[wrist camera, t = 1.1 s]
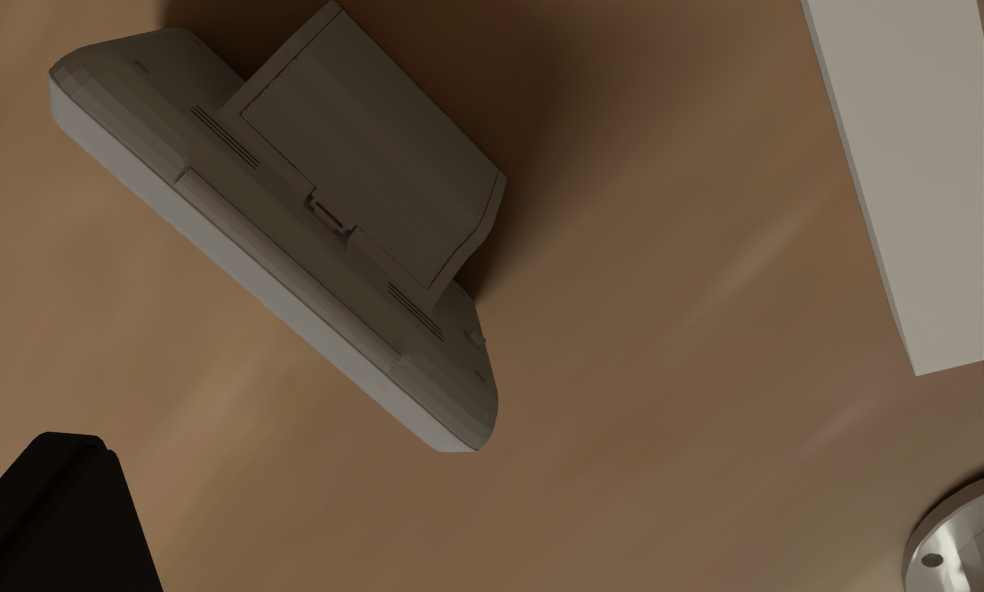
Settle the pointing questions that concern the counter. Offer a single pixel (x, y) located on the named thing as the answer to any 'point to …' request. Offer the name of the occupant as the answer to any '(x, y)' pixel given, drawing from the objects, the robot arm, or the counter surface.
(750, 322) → the counter surface
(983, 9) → the walnut bar
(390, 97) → the digital clock
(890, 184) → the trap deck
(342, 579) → the counter surface
